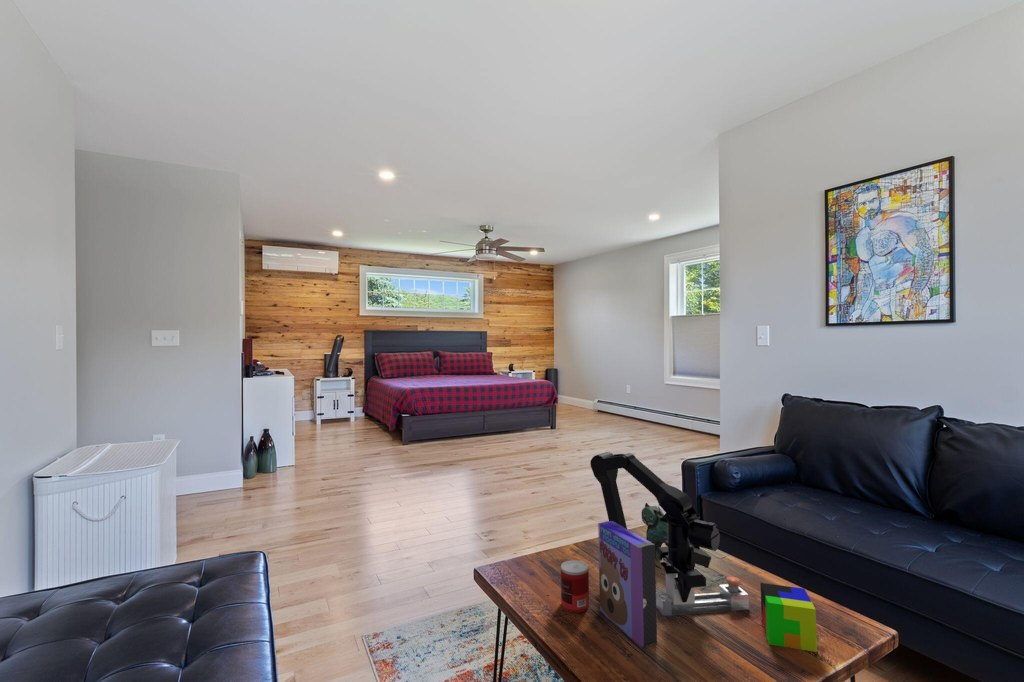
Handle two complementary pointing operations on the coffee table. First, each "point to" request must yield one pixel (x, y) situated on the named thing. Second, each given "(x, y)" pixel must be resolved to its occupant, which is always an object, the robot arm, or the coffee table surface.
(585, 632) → the coffee table surface
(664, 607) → the rail
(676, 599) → the carriage
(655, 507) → the ceramic cat
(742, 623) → the coffee table surface
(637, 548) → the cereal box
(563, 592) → the canned food
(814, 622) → the puzzle toy
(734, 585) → the button
